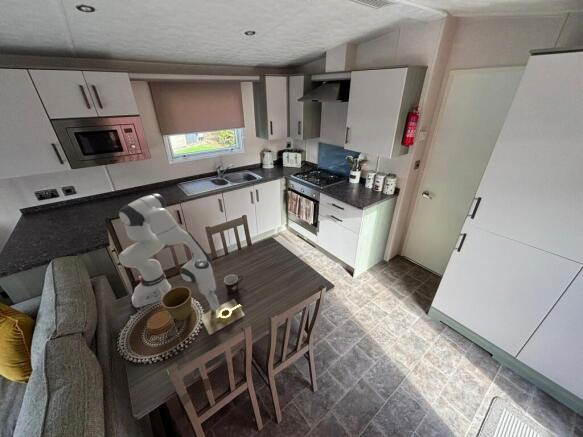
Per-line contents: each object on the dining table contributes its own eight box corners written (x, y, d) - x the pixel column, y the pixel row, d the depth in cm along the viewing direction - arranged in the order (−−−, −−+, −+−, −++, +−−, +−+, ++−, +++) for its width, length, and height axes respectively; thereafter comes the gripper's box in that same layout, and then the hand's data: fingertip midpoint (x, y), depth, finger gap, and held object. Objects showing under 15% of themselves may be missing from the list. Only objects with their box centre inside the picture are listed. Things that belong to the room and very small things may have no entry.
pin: (211, 315, 137) (209, 306, 133) (210, 312, 139) (207, 302, 135) (216, 313, 139) (214, 303, 135) (215, 309, 141) (212, 300, 137)
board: (209, 336, 127) (209, 335, 127) (200, 317, 138) (200, 315, 137) (245, 316, 138) (244, 315, 138) (234, 299, 149) (233, 298, 148)
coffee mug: (226, 297, 151) (224, 285, 146) (225, 287, 158) (223, 276, 153) (244, 293, 153) (243, 281, 148) (243, 283, 161) (241, 272, 156)
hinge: (213, 331, 129) (211, 325, 126) (208, 323, 133) (207, 317, 130) (243, 314, 138) (242, 308, 136) (238, 307, 143) (238, 301, 140)
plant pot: (187, 301, 148) (182, 282, 140) (201, 314, 139) (195, 295, 131) (164, 317, 138) (156, 298, 130) (177, 332, 129) (169, 312, 121)
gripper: (220, 295, 123) (224, 313, 129) (206, 273, 137) (211, 290, 144) (208, 301, 119) (213, 319, 126) (195, 278, 134) (200, 295, 141)
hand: (212, 303), depth 135 cm, fingers open, 8 cm apart
